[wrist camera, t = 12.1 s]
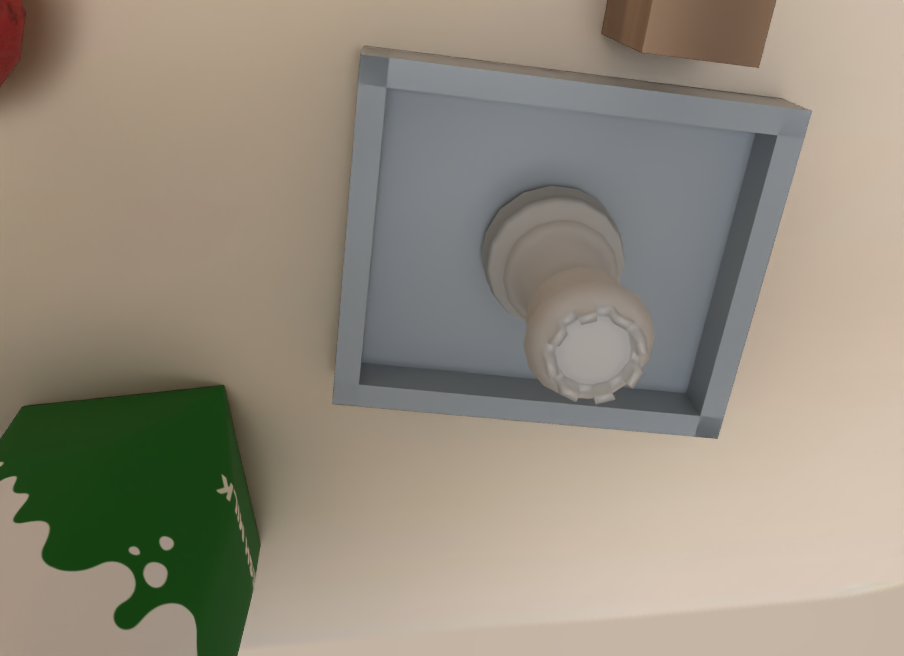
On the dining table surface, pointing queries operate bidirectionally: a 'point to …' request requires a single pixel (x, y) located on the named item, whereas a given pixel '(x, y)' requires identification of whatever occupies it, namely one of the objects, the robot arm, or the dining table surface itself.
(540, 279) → the rook chess piece
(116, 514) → the milk carton
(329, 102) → the dining table surface
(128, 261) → the dining table surface
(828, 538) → the dining table surface
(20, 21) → the red round fruit
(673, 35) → the walnut posts
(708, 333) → the tray
